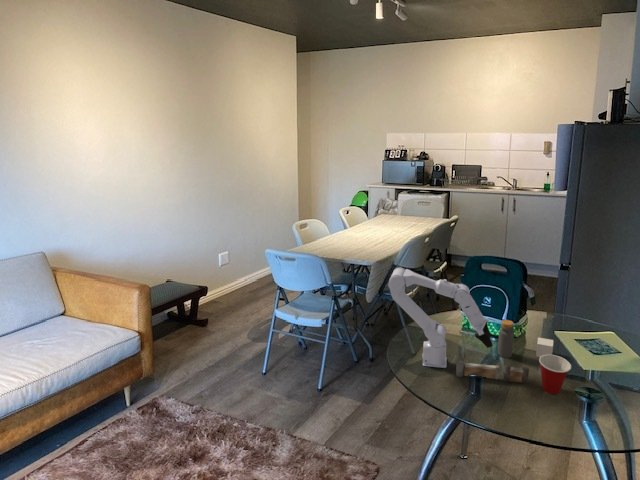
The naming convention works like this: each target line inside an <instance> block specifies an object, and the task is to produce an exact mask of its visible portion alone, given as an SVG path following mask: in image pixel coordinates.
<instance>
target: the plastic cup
mask: <svg viewBox="0 0 640 480" xmlns="http://www.w3.org/2000/svg"><path fill="white" fill-rule="evenodd" d="M538 358H539V359H538V361H539V365H540V373H541V383H542V384H541V386H542V390H543V391H544V392H546V393H547V394H550V395H558V394H559V393H560V392H561V390H562V386H563V385H564V382H565V379H566V377H567V374H568V373H569V371H570V370H571V369H572V364H571V363H570V362H569V361H568V360H567V359H565V358H564V357H562V356H559V355H556V354H552V355H549V354H547V355H542V356H541V357H538Z"/></svg>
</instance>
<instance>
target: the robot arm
mask: <svg viewBox="0 0 640 480" xmlns="http://www.w3.org/2000/svg"><path fill="white" fill-rule="evenodd" d="M412 285H418V286H421V287H425V288H428V289H432V290H434V292H435V293H436V294H438V295H442V296H444V297H448V298H450V299H453V300H454V302H456V303H458V304H459V306H460V308H461V310H462V312H463V313H464V315H465V317H466V319H467V320H468V322H469V324H470V326H471V328H472V329H473V330H474V331H475V332H476V333H474V337H475V338H476V339H478V340H479V341H481V342H482V344H483V345H484V346H485V347H486V348H487V349H489V348H491V347H493V343H492V340H491V337H492V335H491V332H490V330H489V326H488V322H489V318H488V317H486V318H485V317H484V315H483V313H482V312H481V310H480V308H479V306H478V305H477V303H476V301H475V299H474V298H473V296H472V295H471V293H470V292H471V291H470V288H469V286H467V285H466V284H464V283H454V282H450V281H448V279H445V278H444V279H439V280H435V279H432V278H429V277H427V276H425V275H422V274H419V273H417V272H415V271H412V270H411V269H407V268H406V269H405V268H403V267H396V268H394V269H393V272H392V273H391V275H390V277H389V279H388V285H387V286H388V288H389V291H390V295H391V298H392V300H393V301H394V302H396V304H397V305H398V306H399V307H400V308H401V309H402V310H403V311H404V312H405V313H406V314H407V315H408V316H409V317H410V318H411V319H412V320H413V321H414V322H415V323H416V324H417V325H418V326H419V327H420V328H421V329H422V331H423V332H424V336H425V337H426V338H427V339H428V341H427V340H426V341H423V346H422V347H423V348H422V354H421V355H422V356H421V359H422V366H423V367H433V368H443V369H446V368H447V365H448V364H447V341H446V334H447V328H446V326H444V324H443V323H439V322H438V321H437V320H435V319H432V318H431V317H429V315H428V314H427V313H426V312H425V311H424V310H423V309H422V308H421V307H420V306H419V305H417V303H416V302H415V301H414V300H413V299H412V298H411V297H410V296H409V295H408V294H407V293H406V292H405V290H406V287H410V286H412Z"/></svg>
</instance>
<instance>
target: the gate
mask: <svg viewBox="0 0 640 480" xmlns="http://www.w3.org/2000/svg"><path fill="white" fill-rule="evenodd" d="M499 373H500V365H498V364H497V365H495V364H494V365H492V364H491V365H490V364H482V363H472V362H471V363H469V362H464V371H463V377H465V376H466V377H469V376H468V375H476V376H482V377H481V378H483V377H486V378H485V379H493V380H499Z"/></svg>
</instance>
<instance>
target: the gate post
mask: <svg viewBox="0 0 640 480" xmlns="http://www.w3.org/2000/svg"><path fill="white" fill-rule="evenodd" d="M455 365H456V367H455V376H456V377H458V378H463V377H464V370H465V362H464V361H463V360H459V359H458V360H457V361H456V364H455ZM462 376H463V377H462Z"/></svg>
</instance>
